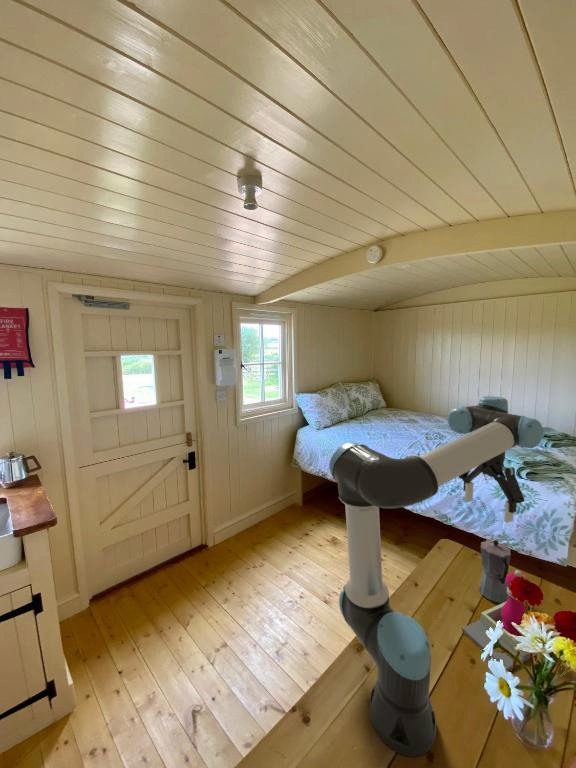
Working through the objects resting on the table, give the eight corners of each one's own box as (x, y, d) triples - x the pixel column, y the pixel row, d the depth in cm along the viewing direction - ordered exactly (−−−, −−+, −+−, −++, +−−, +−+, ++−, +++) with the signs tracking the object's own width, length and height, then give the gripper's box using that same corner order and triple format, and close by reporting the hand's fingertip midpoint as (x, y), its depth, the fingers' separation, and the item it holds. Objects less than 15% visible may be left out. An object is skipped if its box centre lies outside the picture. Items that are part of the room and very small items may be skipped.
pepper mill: (504, 637, 98) (508, 576, 96) (497, 618, 105) (500, 561, 103) (532, 643, 96) (537, 581, 94) (523, 623, 103) (527, 565, 101)
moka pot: (497, 580, 123) (500, 531, 121) (522, 613, 108) (526, 558, 105) (470, 579, 124) (473, 530, 122) (491, 612, 109) (495, 557, 106)
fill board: (505, 671, 89) (506, 658, 89) (461, 630, 102) (462, 619, 102) (552, 645, 96) (554, 633, 96) (506, 610, 109) (507, 599, 109)
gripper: (542, 457, 90) (537, 528, 93) (465, 434, 114) (462, 492, 116) (524, 461, 88) (519, 534, 90) (448, 437, 111) (446, 496, 113)
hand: (487, 510), depth 103 cm, fingers open, 13 cm apart
